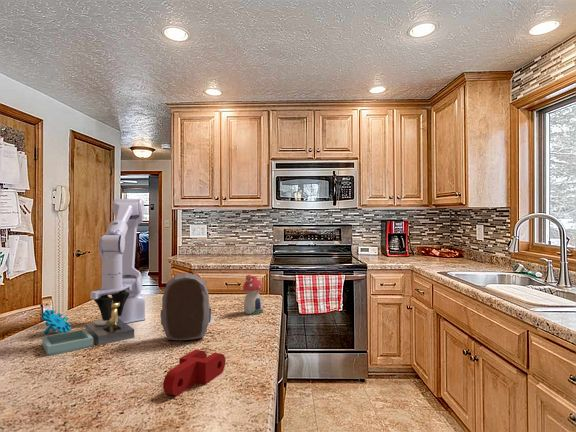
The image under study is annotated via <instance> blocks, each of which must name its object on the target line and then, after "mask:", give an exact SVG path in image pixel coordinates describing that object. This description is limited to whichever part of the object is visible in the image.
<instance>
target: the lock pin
mask: <svg viewBox="0 0 576 432" xmlns="http://www.w3.org/2000/svg"><path fill="white" fill-rule="evenodd" d="M118 306H120V302H119V301H112V304H111V311H110V320H107V332H109V331H115V330H118Z"/></svg>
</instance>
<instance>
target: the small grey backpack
mask: <svg viewBox="0 0 576 432" xmlns="http://www.w3.org/2000/svg"><path fill="white" fill-rule="evenodd" d="M165 284H166V285H165V289H164V292H163V295H162V298H161V299H162V301H161V302H162V304H161V305H162V306H161V310H160V322H161V323H160V324H161V326H162V328H163V331H164V334H165V336H166V339H168V340H173V341H188V340H189V341H190V340H197V339H202V338H205V336H206V334H207V333H206V332H207V330H208V326H209V325H210V324H209V322H210V320H211V313H212V314H213V311H212V306H211V305H210V295H209V294H210V293H209V292H208V288H207V285H206V281H205V280H204V279H203V278H201V277H200V276H199V275H197V274H193V273H189V272H184V273H179V274H176V275H174V276H173V277H171V278H170V280H168V281H167V282H166V283H165ZM208 324H209V325H208Z"/></svg>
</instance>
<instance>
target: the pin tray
mask: <svg viewBox="0 0 576 432" xmlns="http://www.w3.org/2000/svg"><path fill="white" fill-rule="evenodd" d="M41 347H42V348H43V350H44V352H45V354H46V356H47V357H50V356H56V355H60V354H64V353H68V352H69V353H70V352H74V351H80V350H84V349H88V348H92V347H94V340H93V337H92V336H91V335H90V334H89V333H88V332H87V331H86V328H84V329H78V330H72V331H71V330H70V331H69V332H65V333H63V332H62V333H55V334H50V335H43V336H41Z"/></svg>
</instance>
